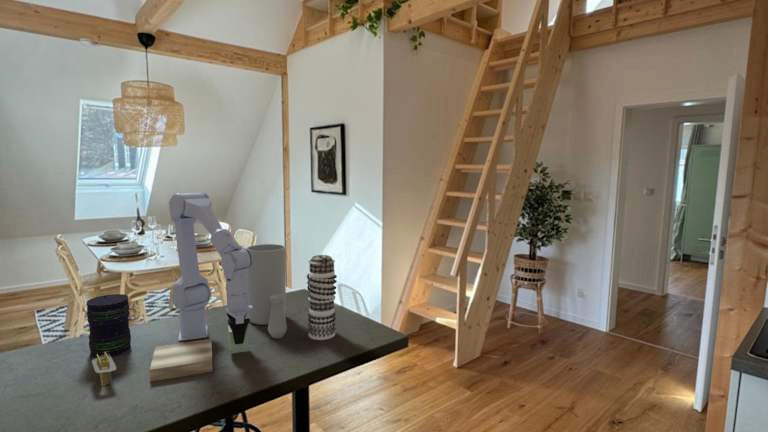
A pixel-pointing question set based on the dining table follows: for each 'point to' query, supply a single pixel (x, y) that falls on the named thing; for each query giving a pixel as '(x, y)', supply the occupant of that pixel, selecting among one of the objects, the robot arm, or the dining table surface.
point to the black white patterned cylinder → (321, 297)
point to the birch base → (181, 360)
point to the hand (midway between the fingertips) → (238, 339)
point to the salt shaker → (277, 317)
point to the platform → (104, 367)
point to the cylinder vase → (265, 280)
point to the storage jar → (109, 325)
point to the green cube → (232, 343)
